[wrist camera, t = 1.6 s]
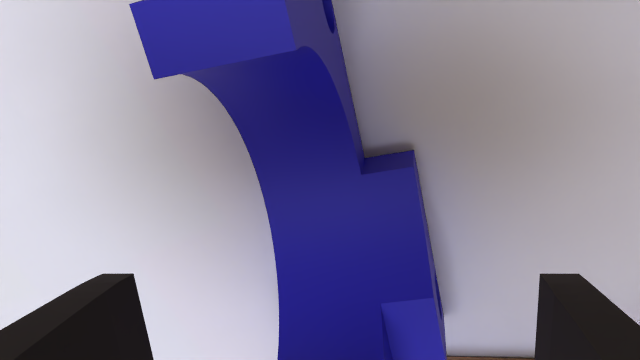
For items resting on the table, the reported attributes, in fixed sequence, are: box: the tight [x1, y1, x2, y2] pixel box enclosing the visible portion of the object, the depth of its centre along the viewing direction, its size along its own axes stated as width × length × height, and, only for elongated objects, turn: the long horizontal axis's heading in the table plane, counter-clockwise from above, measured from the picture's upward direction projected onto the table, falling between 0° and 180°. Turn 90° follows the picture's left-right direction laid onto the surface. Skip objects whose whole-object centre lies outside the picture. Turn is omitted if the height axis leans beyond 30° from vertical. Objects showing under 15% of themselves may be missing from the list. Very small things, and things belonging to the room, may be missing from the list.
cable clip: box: [129, 0, 447, 360], centre depth 16 cm, size 12×4×6 cm, turn 13°
